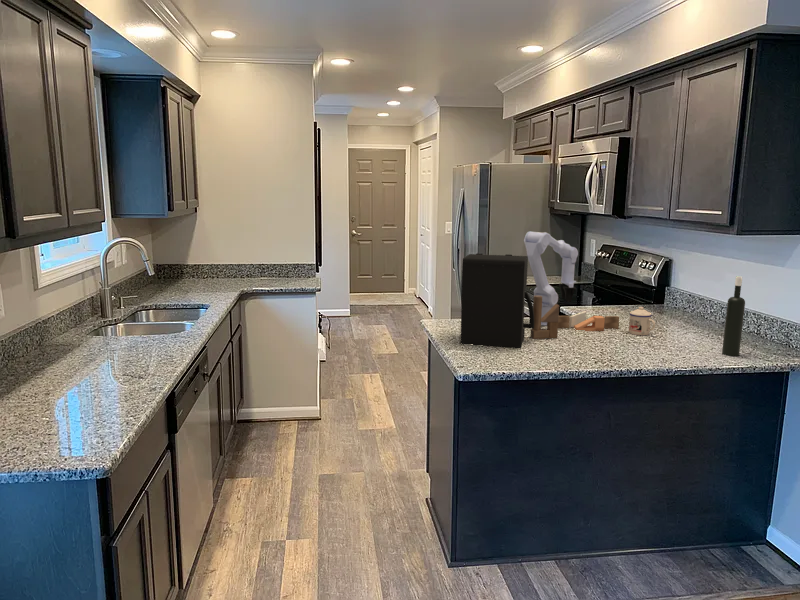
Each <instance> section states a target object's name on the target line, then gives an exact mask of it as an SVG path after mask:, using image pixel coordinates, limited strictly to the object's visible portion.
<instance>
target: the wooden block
mask: <svg viewBox="0 0 800 600" xmlns="http://www.w3.org/2000/svg"><path fill="white" fill-rule="evenodd" d="M532 305H533V311H534V328H533V329H532V328H530V334H529V335H530V338H531V339H533V340H543V339H545V338H549V339H550V338H553V339H558V331H559V328H558V319H559V316H560V314H559V313H560V305H559V304H558V303H556V304H555V305H554V306H553V307H552V308H551V309H550V310H549V311H548V312H547V313H546V314H545V315H544V316H543V317H542V318H541V315H542V296H539V295H536V296H534V295H533V301H532ZM541 322H547V325H546V329H545V328H542V325H541Z"/></svg>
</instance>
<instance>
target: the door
mask: <svg viewBox="0 0 800 600" xmlns="http://www.w3.org/2000/svg"><path fill="white" fill-rule="evenodd" d="M569 316H570V321H569V328H571V327H572V328H574V325H577V324H579V323H581V322H583V321H585V320H587V311H583V310H582V311H581V312H579V313H576V314H573V315H569Z"/></svg>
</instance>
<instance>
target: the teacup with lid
mask: <svg viewBox="0 0 800 600" xmlns="http://www.w3.org/2000/svg"><path fill="white" fill-rule="evenodd" d="M652 316H653V315H652V313H651V312H650V311H647V310H646V309H644V306H638V308H637V309H634V310H631V311H630V312H629V321H628V322H629V323H628V334H630V335H633V334H634V336H640V335H641V336H644V335H646V336H649V335H650V333H651V331H653V330H654V329H655V327H656V322H655V320H654V319H652ZM651 323H652V326H651Z"/></svg>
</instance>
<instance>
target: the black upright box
mask: <svg viewBox="0 0 800 600" xmlns="http://www.w3.org/2000/svg"><path fill="white" fill-rule="evenodd" d="M461 264H462V265H461V266H462V270H461V272H462V273H461V303H460V304H461V305H460V307H461V309H460V310H461V312H460V313H461V314H460V344H461V343H462V344H461V345H464V344H473V345H472V346H477V345H483V346H482V347H490V346H493V348H495V347H496V348H504V347H505V349H507V348H509V349H517V348H520V349H521V350H522V346H523V344H522V343H523V342H524V340H525V334H526V333H525V331H526V329H533V328H534V311H533V301H532V298H531V296H530V295H529V293H528V291H526V289H527V286H528V285H527V284H528V267H529V266H528V265H529V260H528V256H527V255H512V254H502V255H501V254H483V253H469V254H468V255H466V256H465V257H463V258H462V263H461ZM525 301H526V302H527V303H526V304H527V307H528V315H529V323H524V322H525V321H524V320H525ZM520 349H519V350H520Z"/></svg>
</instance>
